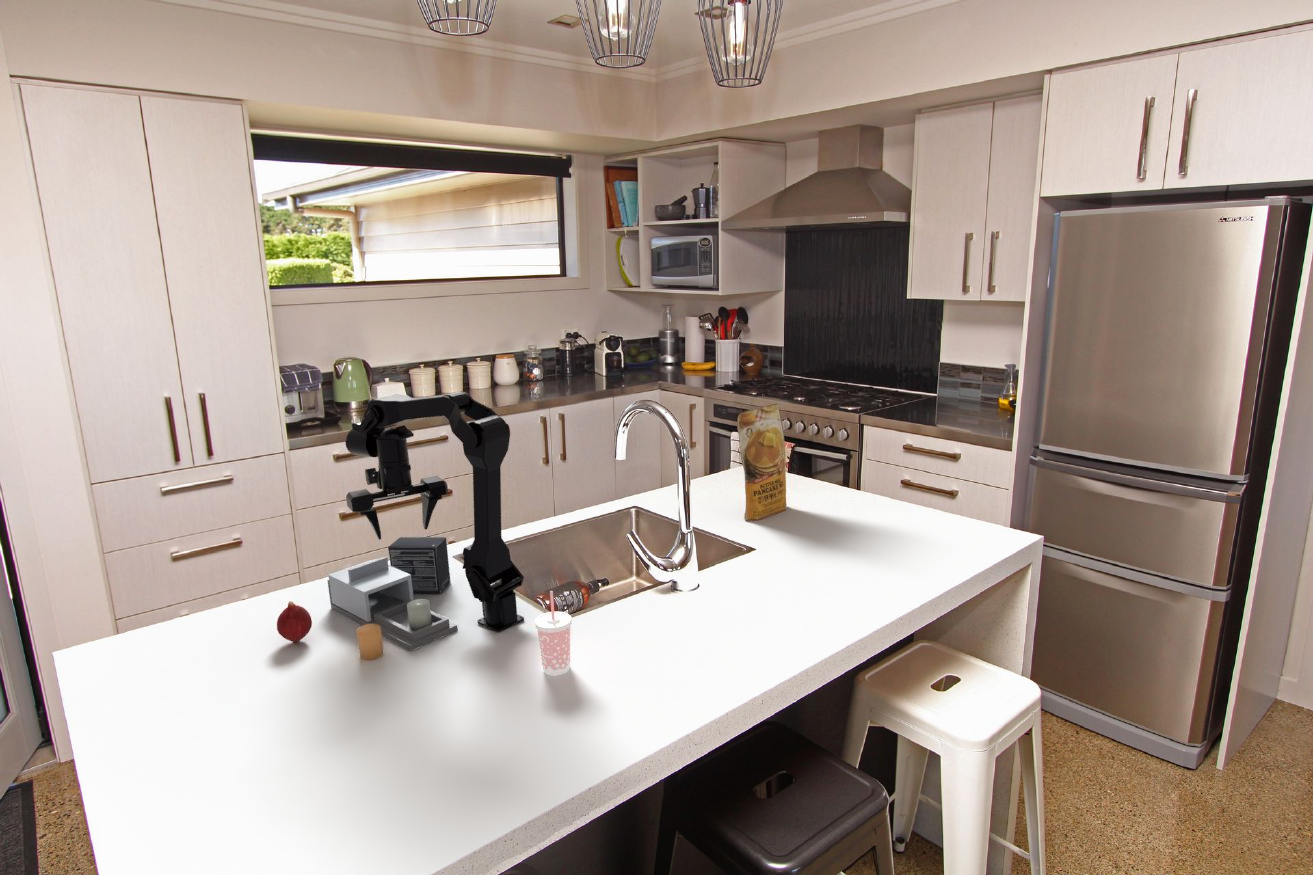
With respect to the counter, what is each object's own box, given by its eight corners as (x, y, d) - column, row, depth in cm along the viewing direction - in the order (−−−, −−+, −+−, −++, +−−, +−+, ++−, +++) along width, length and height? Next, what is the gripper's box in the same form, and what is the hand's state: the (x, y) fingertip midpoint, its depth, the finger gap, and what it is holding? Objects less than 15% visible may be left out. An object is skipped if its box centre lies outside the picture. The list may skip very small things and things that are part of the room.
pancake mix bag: (728, 518, 203) (728, 412, 197) (776, 501, 216) (777, 400, 209) (748, 524, 198) (748, 415, 192) (796, 507, 211) (797, 404, 204)
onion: (321, 636, 147) (315, 596, 145) (298, 651, 142) (292, 610, 140) (296, 632, 149) (290, 593, 147) (272, 647, 143) (266, 606, 142)
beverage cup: (534, 663, 135) (528, 588, 132) (568, 655, 137) (563, 581, 134) (543, 681, 129) (538, 602, 126) (579, 672, 132) (574, 595, 128)
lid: (414, 603, 157) (409, 563, 155) (367, 621, 149) (362, 580, 147) (377, 586, 165) (372, 548, 163) (332, 602, 158) (326, 563, 156)
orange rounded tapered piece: (388, 653, 140) (385, 627, 139) (367, 662, 137) (364, 636, 136) (376, 646, 142) (372, 621, 141) (355, 655, 139) (352, 629, 138)
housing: (457, 629, 148) (454, 600, 146) (410, 650, 140) (407, 620, 139) (376, 591, 166) (373, 564, 164) (331, 608, 159) (327, 580, 157)
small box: (452, 581, 170) (447, 535, 167) (441, 594, 163) (436, 547, 161) (404, 581, 171) (399, 535, 168) (392, 594, 164) (386, 546, 162)
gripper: (428, 444, 167) (436, 514, 171) (335, 459, 158) (346, 533, 161) (444, 454, 158) (452, 527, 162) (347, 471, 149) (358, 549, 152)
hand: (402, 533), depth 159 cm, fingers open, 9 cm apart
